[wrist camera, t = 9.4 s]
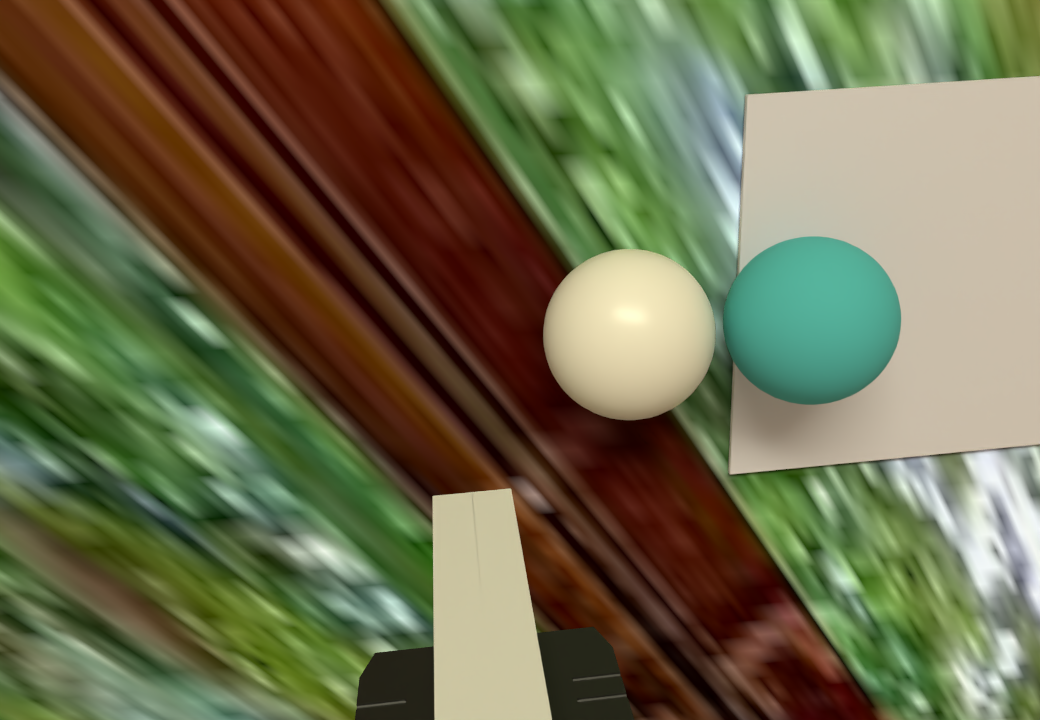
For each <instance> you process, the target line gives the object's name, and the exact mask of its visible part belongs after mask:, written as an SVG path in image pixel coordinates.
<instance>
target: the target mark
mask: <svg viewBox="0 0 1040 720" xmlns="http://www.w3.org/2000/svg"><path fill="white" fill-rule="evenodd" d="M808 236H820V237H829V238H833V239H837V240H841V241H845V242H847V243H849V244H851V245H853V246H856V247H858V248H860V249H861V250H863V251H864V252H866V253H867V254H868V255H870V256H871V257H872V258H873V259H875V260H876V261H877V262H878V263H879V264H880V266H881V267H882V268H883V269H884V270H885V272H886V273H887V274H888V276H889V278H890V280H891V282H892V283H893V285H894V287H895V289H896V292H897V295H898V299H899V303H900V309H901V330H900V336H899V340H898V344H897V347H896V349H895V352H894V354H893V356H892V358H891V360H890V361H889V363H888V364H887V366H886V367H885V369H884V370H883V371H882V373H881V374H880V375H879V376H878V377H877V378H876V379H875V380H874V381H873V382H871V383H870V384H869V385H868V386H866V387H865V388H864V389H862V390H861V391H859V392H857V393H856V394H854V395H852V396H850V397H847V398H845V399H842V400H839V401H835V402H832V403H826V404H817V405H804V404H796V403H790V402H787V401H783V400H780V399H777V398H774V397H772V396H771V395H769V394H767V393H765V392H763V391H761V390H760V389H758V388H757V387H756V386H755V385H753V384H752V383H751V382H750V381H749V380H748V379H747V378H746V377H745V376H744V375H743V374H742V373H741V371H740V370H739V369H738V367H737V366H736V364H735V363H734V361H733V378H732V400H731V422H730V444H729V466H728V472H729V474H740V473H750V472H761V471H771V470H781V469H791V468H802V467H812V466H822V465H832V464H843V463H853V462H863V461H873V460H883V459H894V458H904V457H914V456H924V455H935V454H945V453H955V452H965V451H976V450H986V449H996V448H1006V447H1016V446H1027V445H1037V444H1040V76H1033V77H1018V78H1002V79H986V80H970V81H955V82H939V83H923V84H907V85H892V86H876V87H860V88H845V89H829V90H813V91H797V92H782V93H766V94H750V95H745V112H744V134H743V156H742V179H741V201H740V223H739V245H738V267H737V276H738V274H739V273H740V272H741V271H742V269H743V268H744V267H745V266H746V265H747V264H748V263H749V262H750V261H751V260H752V259H753V258H754V257H755V256H757V255H758V254H759V253H761V252H762V251H764V250H765V249H767V248H769V247H771V246H773V245H775V244H777V243H780V242H783V241H786V240H789V239H794V238H799V237H808Z"/></svg>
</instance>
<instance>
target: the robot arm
mask: <svg viewBox="0 0 1040 720" xmlns="http://www.w3.org/2000/svg"><path fill="white" fill-rule="evenodd" d="M433 591H434V647H425V648H416V649H407V650H398V651H389V652H380V653H375V654H374V656H373V657H372V659H371V660H370V662H369V664H368V665H367V667H366V668H365V670H364V672H363V673H362V675H361V676H360V678H359V688H358V697H357V710H356V716H355V720H634V718H633V714H632V711H631V708H630V704H629V701H628V698H627V697H626V691H625V687H624V684H623V681H622V677H621V676H620V671H619V667H618V664H617V660H616V657H615V654H614V650H613V647H612V646H611V645H610V644H609V643H608V642H607V641H606V640H605V639H604V638H603V636H602V635H601V634H600V633H599V632H598V631H597V630H596V629H595V628H594V627H588V628H579V629H570V630H561V631H552V632H542V633H537V632H536V626H535V621H534V615H533V610H532V604H531V598H530V593H529V587H528V582H527V576H526V570H525V565H524V559H523V554H522V548H521V542H520V537H519V531H518V525H517V520H516V514H515V509H514V503H513V497H512V492H511V489H501V490H491V491H481V492H470V493H460V494H450V495H439V496H433Z"/></svg>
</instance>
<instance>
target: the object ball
mask: <svg viewBox="0 0 1040 720" xmlns="http://www.w3.org/2000/svg"><path fill="white" fill-rule="evenodd" d="M723 329H724V336H725V341H726V345H727V348H728V350H729V353H730V355H731V357H732V359H733V361H734V363H735V364H736V366H737V367H738V369H739V370H740V371H741V373H742V374H743V375H744V376H745V377H746V378H747V379H748V380H749V381H750V382H751V383H752V384H753V385H755V386H756V387H757V388H758V389H760V390H761V391H763V392H765V393H767V394H769V395H771V396H772V397H774V398H777V399H780V400H783V401H787V402H790V403H796V404H804V405H817V404H826V403H832V402H835V401H839V400H842V399H845V398H847V397H850V396H852V395H854V394H856V393H857V392H859V391H861V390H862V389H864V388H865V387H866V386H868V385H869V384H870V383H871V382H873V381H874V380H875V379H876V378H877V377H878V376H879V375H880V374H881V373H882V371H883V370H884V369H885V367H886V366H887V364H888V363H889V361H890V360H891V358H892V356H893V354H894V352H895V349H896V347H897V344H898V340H899V336H900V330H901V309H900V303H899V299H898V295H897V292H896V289H895V287H894V285H893V283H892V282H891V280H890V278H889V276H888V274H887V273H886V272H885V270H884V269H883V268H882V267H881V266H880V264H879V263H878V262H877V261H876V260H875V259H873V258H872V257H871V256H870V255H868V254H867V253H866V252H864V251H863V250H861V249H860V248H858V247H856V246H853V245H851V244H849V243H847V242H845V241H841V240H837V239H833V238H829V237H820V236H808V237H799V238H794V239H789V240H786V241H783V242H780V243H777V244H775V245H773V246H771V247H769V248H767V249H765V250H764V251H762V252H761V253H759V254H758V255H757V256H755V257H754V258H753V259H752V260H751V261H750V262H749V263H748V264H747V265H746V266H745V267H744V268H743V269H742V271H741V272H740V273H739V274H738V276H737V277H736V279H735V281H734V282H733V284H732V286H731V288H730V291H729V293H728V296H727V299H726V303H725V307H724V314H723Z"/></svg>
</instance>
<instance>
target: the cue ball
mask: <svg viewBox="0 0 1040 720" xmlns="http://www.w3.org/2000/svg"><path fill="white" fill-rule="evenodd" d="M715 340H716V328H715V320H714V314H713V311H712V308H711V305H710V302H709V300H708V298H707V296H706V294H705V292H704V291H703V289H702V287H701V286H700V284H699V283H698V282H697V281H696V279H695V278H694V277H693V276H692V275H691V274H690V273H689V272H688V271H687V270H686V269H685V268H683V267H682V266H681V265H679V264H678V263H676V262H675V261H673V260H671V259H670V258H667V257H665V256H663V255H661V254H657V253H654V252H651V251H646V250H639V249H621V250H613V251H609V252H605V253H602V254H599V255H597V256H595V257H592V258H590V259H588V260H586V261H585V262H583V263H582V264H580V265H579V266H577V267H576V268H575V269H574V270H572V271H571V272H570V273H569V274H568V275H567V276H566V277H565V279H564V280H563V281H562V282H561V283H560V285H559V286H558V287H557V289H556V291H555V292H554V294H553V296H552V298H551V300H550V303H549V305H548V308H547V311H546V315H545V320H544V327H543V342H544V350H545V354H546V359H547V362H548V365H549V367H550V370H551V372H552V374H553V376H554V377H555V379H556V381H557V382H558V384H559V385H560V386H561V388H562V389H563V390H564V391H565V392H566V393H567V394H568V396H569V397H571V398H572V399H573V400H574V401H575V402H576V403H578V404H579V405H581V406H582V407H584V408H586V409H588V410H590V411H591V412H593V413H596V414H598V415H601V416H604V417H608V418H611V419H619V420H639V419H646V418H651V417H654V416H658V415H660V414H662V413H665V412H667V411H669V410H671V409H673V408H674V407H676V406H677V405H679V404H680V403H682V402H683V401H684V400H685V399H687V398H688V397H689V396H690V395H691V394H692V393H693V392H694V391H695V389H696V388H697V387H698V386H699V384H700V383H701V382H702V380H703V378H704V377H705V375H706V373H707V371H708V368H709V366H710V363H711V361H712V358H713V354H714V349H715Z"/></svg>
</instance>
